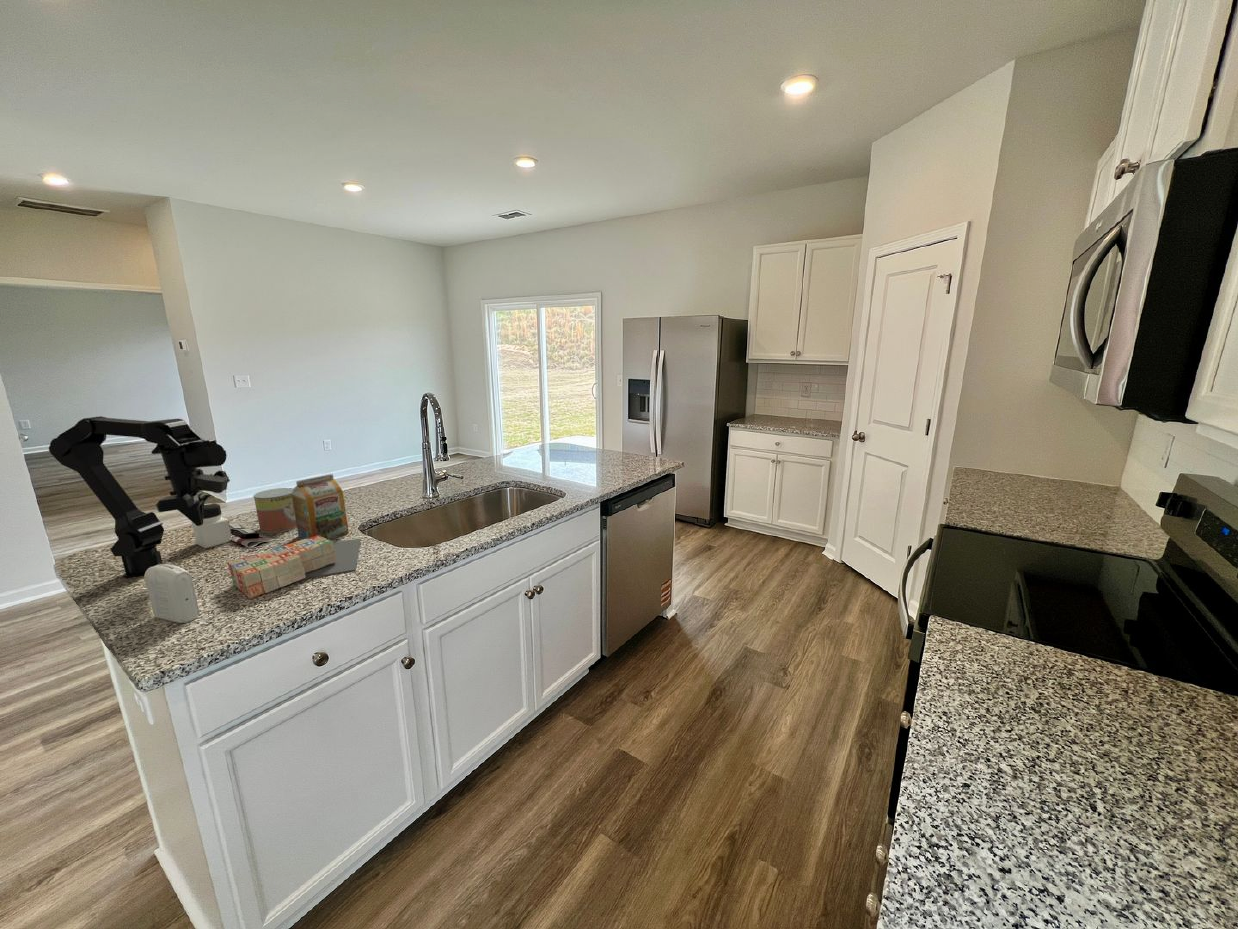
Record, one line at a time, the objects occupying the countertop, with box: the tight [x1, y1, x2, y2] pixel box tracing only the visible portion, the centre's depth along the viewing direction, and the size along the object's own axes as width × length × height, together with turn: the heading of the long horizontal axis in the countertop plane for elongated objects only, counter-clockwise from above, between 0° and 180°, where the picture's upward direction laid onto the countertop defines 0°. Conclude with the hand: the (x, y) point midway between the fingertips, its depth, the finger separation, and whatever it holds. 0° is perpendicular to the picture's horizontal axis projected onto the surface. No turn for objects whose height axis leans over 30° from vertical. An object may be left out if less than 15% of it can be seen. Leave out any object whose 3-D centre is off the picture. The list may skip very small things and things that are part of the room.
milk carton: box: [292, 473, 350, 540], centre depth 155 cm, size 11×11×19 cm
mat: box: [300, 538, 361, 581], centre depth 139 cm, size 16×24×1 cm, turn 24°
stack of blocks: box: [227, 535, 337, 599], centre depth 128 cm, size 21×6×12 cm
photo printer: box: [143, 563, 200, 624], centre depth 108 cm, size 10×4×12 cm, turn 72°
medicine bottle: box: [191, 503, 233, 549], centre depth 150 cm, size 7×7×12 cm
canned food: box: [253, 487, 297, 534], centre depth 163 cm, size 11×11×12 cm
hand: (200, 525), depth 130 cm, fingers closed
